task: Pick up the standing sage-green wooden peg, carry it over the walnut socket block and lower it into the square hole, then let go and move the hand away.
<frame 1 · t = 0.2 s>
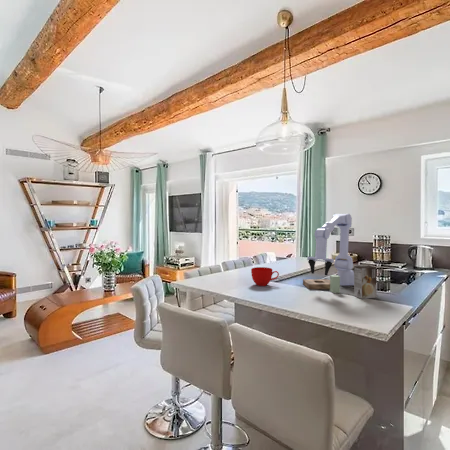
hand: (319, 274, 173), 10 cm above the counter, tool pointing down, fingers open, 7 cm apart
peg: (334, 291, 175), on the counter
socket block: (319, 286, 188), on the counter
coffee box: (365, 297, 164), on the counter
ceramic cup: (264, 285, 193), on the counter
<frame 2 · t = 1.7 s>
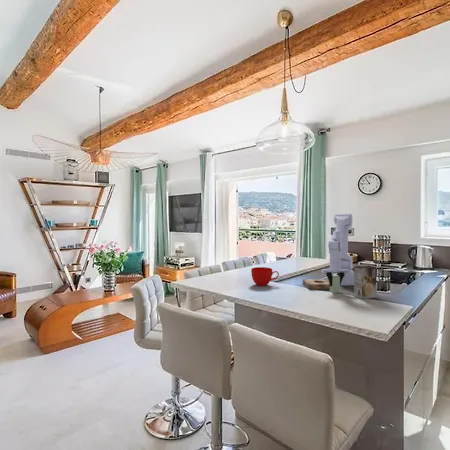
hand: (334, 285, 175), 3 cm above the counter, tool pointing down, fingers closed on peg, 4 cm apart
peg: (334, 291, 175), on the counter, touching gripper
everything else where it was.
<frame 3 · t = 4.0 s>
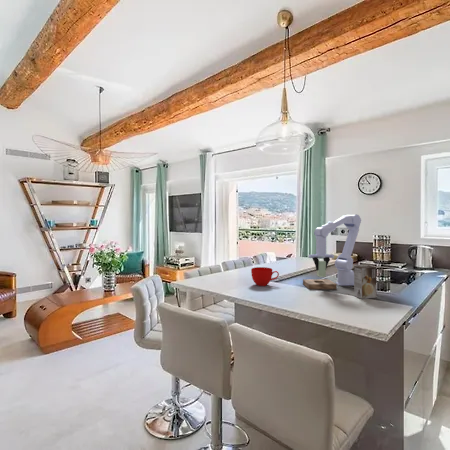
hand: (321, 270, 186), 10 cm above the counter, tool pointing down, fingers closed on peg, 4 cm apart
peg: (321, 276, 186), point 7 cm above the counter, touching gripper
everything else where it was.
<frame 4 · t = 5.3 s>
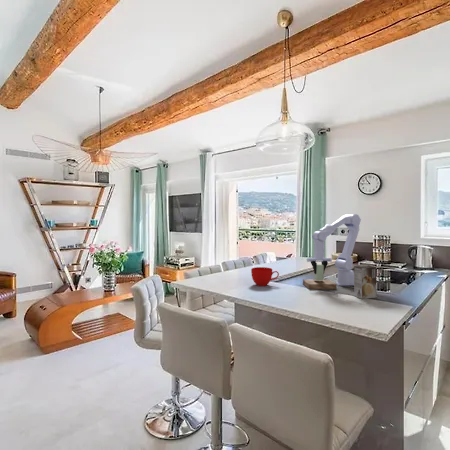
hand: (319, 273, 188), 8 cm above the counter, tool pointing down, fingers closed on peg, 4 cm apart
peg: (319, 279, 188), point 4 cm above the counter, touching gripper
everything else where it was.
when the fingers open (5 cm above the counter, at t = 6.4 s): peg stays where it is, resting on socket block.
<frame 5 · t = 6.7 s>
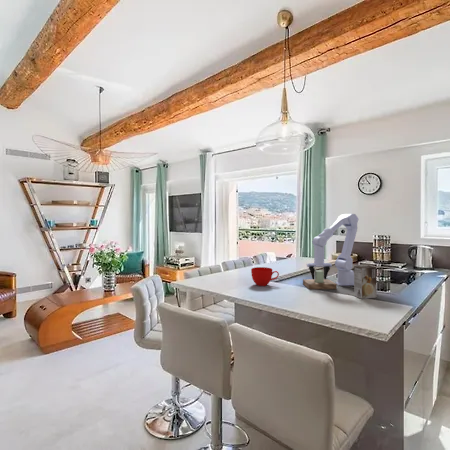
hand: (319, 278, 188), 5 cm above the counter, tool pointing down, fingers open, 6 cm apart
peg: (319, 285, 188), resting on socket block
everything else where it was.
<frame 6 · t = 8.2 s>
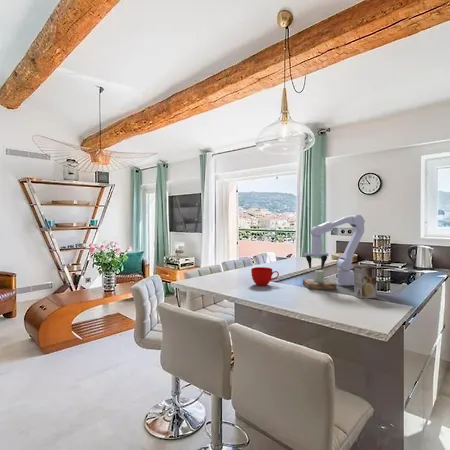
hand: (316, 267, 194), 10 cm above the counter, tool pointing down, fingers open, 7 cm apart
nothing on the counter moved.
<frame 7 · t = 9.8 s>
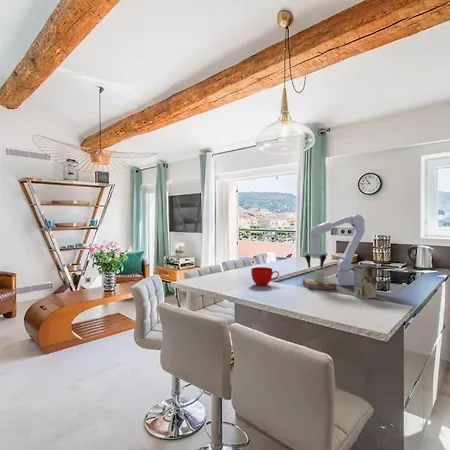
hand: (315, 267, 196), 10 cm above the counter, tool pointing down, fingers open, 7 cm apart
nothing on the counter moved.
at the end: peg 0.3 cm off-centre on the socket block, point 0.5 cm above the socket block's base; peg tilted 0°; the gripper is holding nothing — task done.
